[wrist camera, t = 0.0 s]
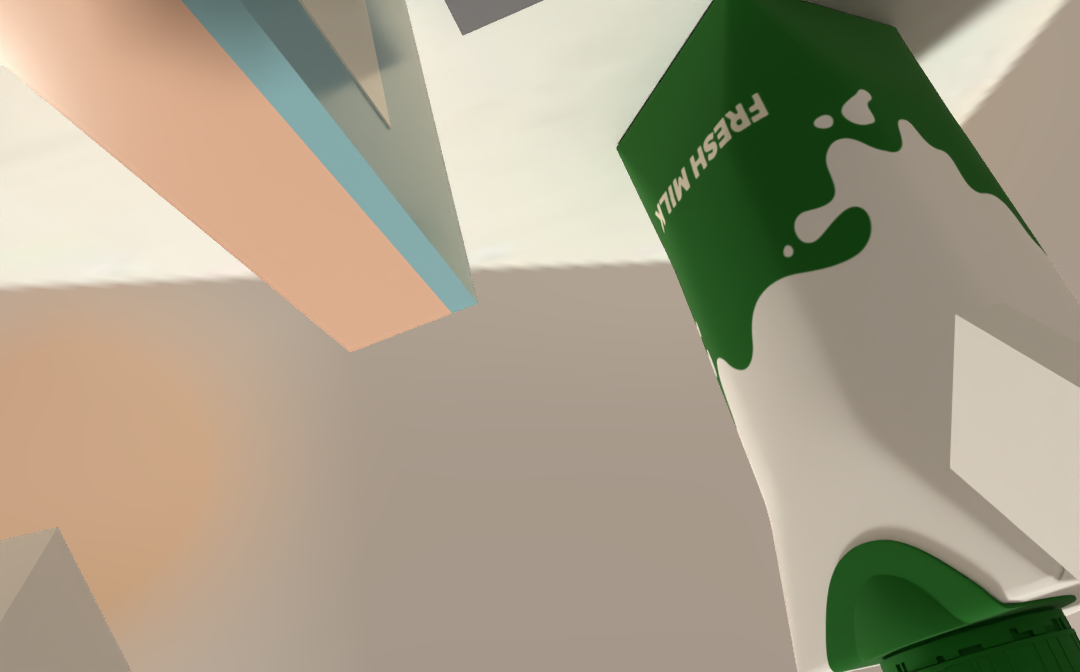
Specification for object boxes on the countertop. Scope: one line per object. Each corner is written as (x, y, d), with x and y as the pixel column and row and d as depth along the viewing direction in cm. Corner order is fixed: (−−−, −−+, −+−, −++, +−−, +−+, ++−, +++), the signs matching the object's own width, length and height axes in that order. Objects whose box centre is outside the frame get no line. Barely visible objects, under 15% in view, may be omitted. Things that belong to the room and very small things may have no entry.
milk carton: (720, -58, 23) (1143, 701, 13) (936, 9, 27) (1380, 625, 18) (580, 162, 30) (798, 784, 20) (773, 189, 34) (1031, 714, 24)
